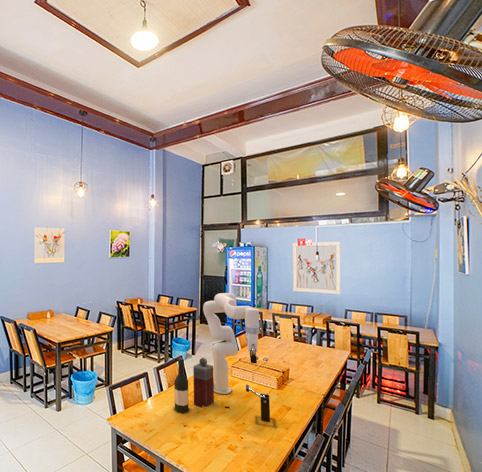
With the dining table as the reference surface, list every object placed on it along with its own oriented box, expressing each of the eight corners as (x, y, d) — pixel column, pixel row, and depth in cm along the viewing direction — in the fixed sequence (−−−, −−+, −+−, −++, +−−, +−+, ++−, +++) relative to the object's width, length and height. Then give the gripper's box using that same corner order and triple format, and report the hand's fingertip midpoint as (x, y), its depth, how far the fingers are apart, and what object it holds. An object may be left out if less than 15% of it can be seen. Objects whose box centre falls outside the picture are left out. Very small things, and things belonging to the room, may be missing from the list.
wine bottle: (173, 406, 189) (172, 356, 190) (186, 405, 190) (186, 355, 191) (176, 413, 181) (175, 360, 182) (190, 412, 181) (189, 360, 183)
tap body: (256, 423, 169) (256, 397, 170) (256, 416, 177) (255, 391, 178) (274, 426, 166) (274, 400, 167) (273, 419, 174) (273, 394, 174)
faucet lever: (245, 391, 173) (247, 387, 173) (245, 386, 179) (247, 383, 179) (266, 405, 169) (268, 401, 169) (266, 400, 175) (268, 396, 174)
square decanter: (216, 402, 193) (215, 357, 194) (206, 409, 185) (205, 361, 186) (203, 398, 199) (202, 353, 201) (193, 404, 191) (193, 358, 193)
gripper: (245, 326, 189) (245, 355, 188) (245, 333, 173) (246, 364, 172) (258, 327, 186) (259, 356, 185) (260, 334, 170) (261, 366, 169)
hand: (253, 360), depth 179 cm, fingers open, 9 cm apart
